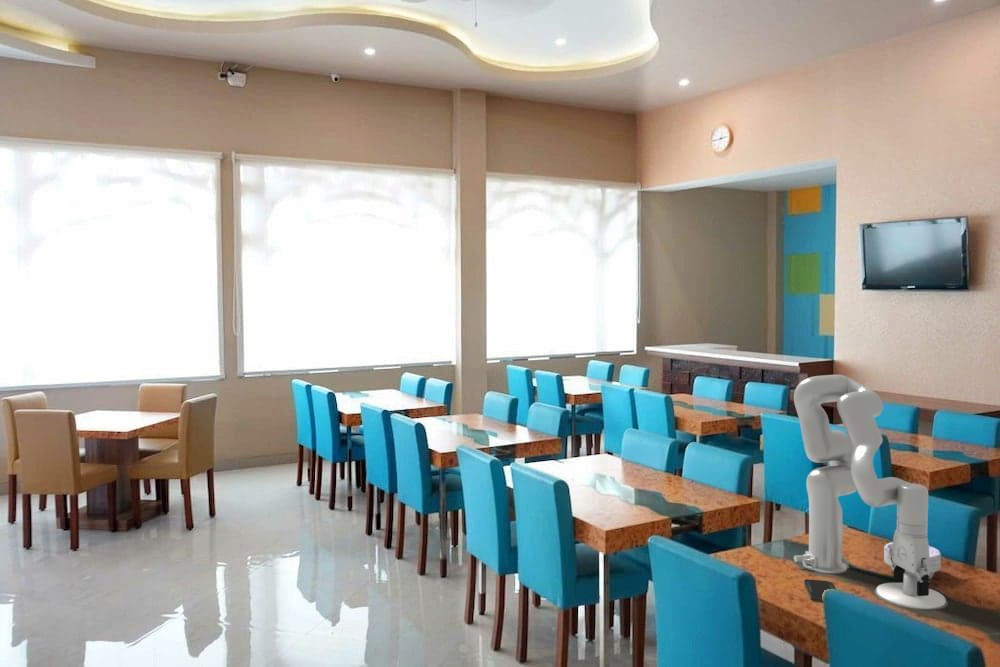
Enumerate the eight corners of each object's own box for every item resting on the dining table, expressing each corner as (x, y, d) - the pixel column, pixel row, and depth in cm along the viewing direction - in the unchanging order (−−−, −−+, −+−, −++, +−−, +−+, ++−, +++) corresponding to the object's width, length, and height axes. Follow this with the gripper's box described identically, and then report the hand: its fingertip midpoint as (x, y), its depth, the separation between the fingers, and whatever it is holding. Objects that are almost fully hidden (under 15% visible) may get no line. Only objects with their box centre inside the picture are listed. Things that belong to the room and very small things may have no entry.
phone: (832, 581, 223) (840, 601, 209) (832, 585, 223) (840, 605, 209) (803, 578, 225) (809, 598, 211) (803, 582, 225) (809, 602, 211)
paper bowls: (873, 566, 237) (873, 541, 237) (918, 564, 239) (919, 539, 239) (904, 584, 222) (904, 558, 222) (952, 582, 224) (953, 556, 224)
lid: (902, 611, 202) (903, 588, 202) (863, 587, 219) (864, 565, 219) (960, 607, 205) (960, 584, 205) (917, 583, 222) (917, 562, 221)
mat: (902, 613, 202) (902, 612, 202) (861, 588, 220) (861, 586, 220) (963, 609, 204) (963, 607, 204) (917, 584, 222) (917, 583, 222)
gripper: (879, 520, 219) (878, 578, 220) (921, 538, 202) (919, 601, 203) (903, 518, 220) (902, 576, 221) (946, 537, 203) (945, 600, 204)
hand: (910, 588), depth 212 cm, fingers open, 9 cm apart
